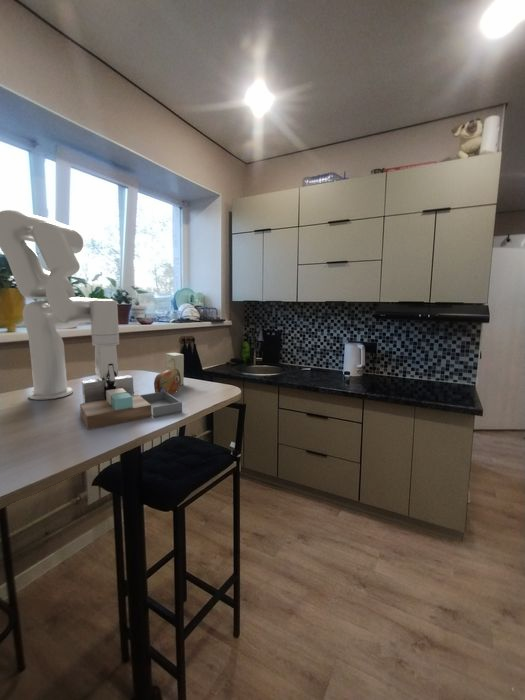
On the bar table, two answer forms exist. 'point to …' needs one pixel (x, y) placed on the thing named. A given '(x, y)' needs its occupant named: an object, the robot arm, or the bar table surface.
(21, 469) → the bar table surface
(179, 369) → the skincare box
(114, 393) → the tile white
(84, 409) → the board
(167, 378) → the tin
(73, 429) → the bar table surface
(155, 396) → the box
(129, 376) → the grey rectangular block
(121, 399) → the teal block
